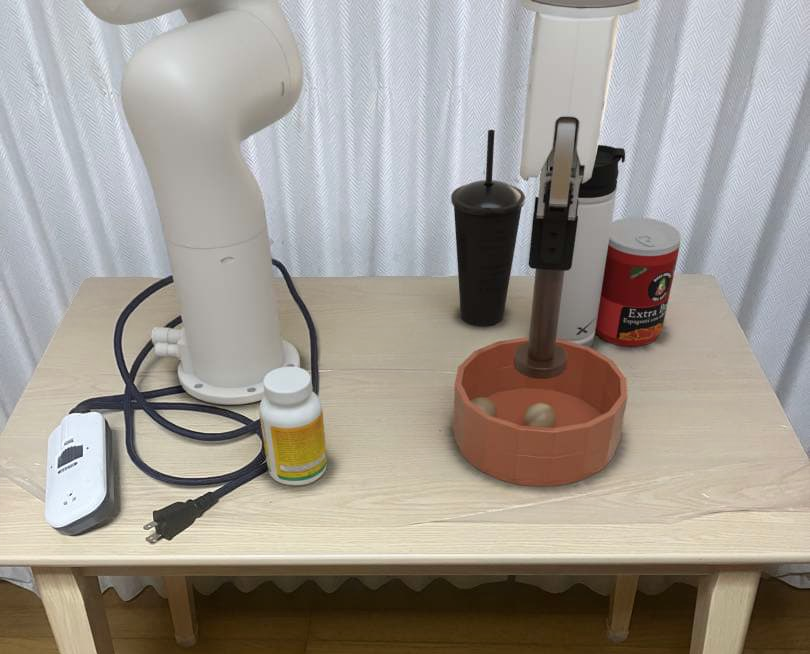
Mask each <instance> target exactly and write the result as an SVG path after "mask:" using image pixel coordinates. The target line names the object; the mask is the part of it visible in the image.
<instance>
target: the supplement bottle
mask: <svg viewBox="0 0 810 654" xmlns="http://www.w3.org/2000/svg"><path fill="white" fill-rule="evenodd" d="M263 385H264V394H265V397H264V398H263V399H262V400H260V403H259V407H258V413H259V420H260V426H261V434H262V441H263V447H264V453H265V460H266V466H267V470H268V473H269V475H270V477H271V478H272V479H273V480H275V481H276V482H278V483H280V484H283V485H287V486H305V485H309V484H311V483H314V482H315V481H318V479H320V478H321V477H322V476H323V475H324V473H325V472H326V469H327V466H328V459H327V448H326V437H325V425H324V416H323V415H324V414H323V405H322V401H321V399H320V397H319V396H318V395H317V393H315V392H314V390H313V389H314V388H313V382H312V376H311V374H310V373H309V371H307V370H306V369H304V368H302V367H300V368H299V367H281V368H278V369H275V370H273V371H271V372H269V373H268V374H267V375H266V376H265V377H264V380H263Z"/></svg>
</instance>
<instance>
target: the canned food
mask: <svg viewBox="0 0 810 654" xmlns="http://www.w3.org/2000/svg"><path fill="white" fill-rule="evenodd" d="M681 237H682V235H681V233H680V231H679V230H678V229H677V228H675V227H674V226H673V225H671V224H669V223H667V222H665V221H661V220H659V219H654V218H648V217H625V218H619V219H616V220H614V221H613V220H612V224H611V230H610V237H609V244H608V250H607V257H606V263H605V270H604V277H603V283H602V290H601V297H600V303H599V310H598V317H597V323H596V328H595V335H597V336H598V337H599V338H601V339H602V340H604V341H607V342H609V343H611V344H613V345H618V346H624V347H639V346H644V345H648V344H651V343H652V342H654V341H655V340H656V339H657V338H658V337H659V335H660V333H661V332H662V330H663V326H664V324H665V323H664V322H665V318H666V313H667V308H668V305H669V304H668V303H669V300H670V294H671V290H672V285H673V281H674V277H675V276H674V275H675V271H676V267H677V261H678V257H679V253H680V246H681Z"/></svg>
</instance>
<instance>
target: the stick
mask: <svg viewBox="0 0 810 654" xmlns="http://www.w3.org/2000/svg"><path fill="white" fill-rule="evenodd" d="M547 189H551V185H547ZM569 190H571V186H569ZM546 191H547V190H546ZM545 206H546V205H545ZM544 214H545V213H544ZM534 273H535V274H534V283H533V292H532V293H533V294H532V302H531V314H530V322H529V323H530V326H529V335H528V337H529V342H527V343H524V344H522V345H520V346H519V347H517V349H516V350H515V352H514V363H513V364H514V367H515V369H516V370H517V371H518V372H519V373H521V374H522V375H524V376H527V377H530V378H535V379H549V378H554V377H557V376H559V375H560V374H562V373H563V372H564V371H565V369H566V364H567V353H566V351H565V350H564V349H563V348H562V347H560V346H558V345H556V336H557V328H558V320H559V311H560V303H561V295H562V287H563V279H564V271H562V270H546V269H535V272H534Z"/></svg>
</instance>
